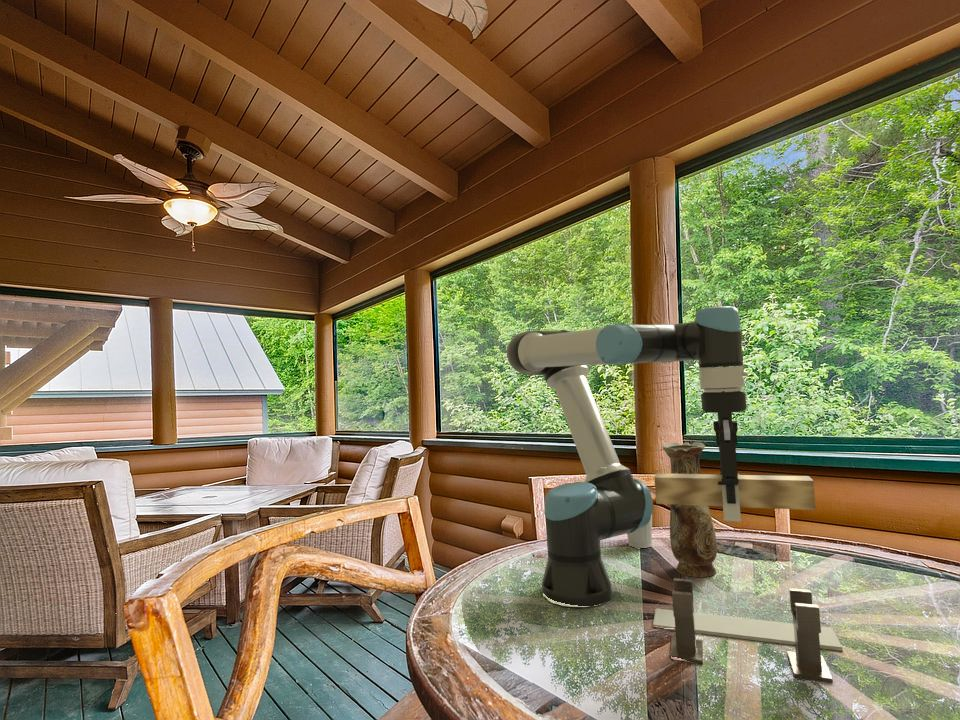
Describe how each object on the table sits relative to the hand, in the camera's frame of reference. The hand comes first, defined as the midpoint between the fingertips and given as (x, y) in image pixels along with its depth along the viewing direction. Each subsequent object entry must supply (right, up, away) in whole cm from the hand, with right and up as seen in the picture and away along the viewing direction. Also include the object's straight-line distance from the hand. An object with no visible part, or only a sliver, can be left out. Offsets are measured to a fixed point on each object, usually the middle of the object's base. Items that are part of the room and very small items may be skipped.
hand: (731, 516), depth 96 cm
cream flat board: (+1, -20, -1) cm, 21 cm away
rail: (0, +2, 0) cm, 2 cm away
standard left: (-11, -21, -7) cm, 25 cm away
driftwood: (+20, -22, +40) cm, 49 cm away
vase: (+5, -22, +28) cm, 36 cm away
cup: (-2, -23, +48) cm, 54 cm away
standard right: (+6, -20, -14) cm, 25 cm away
